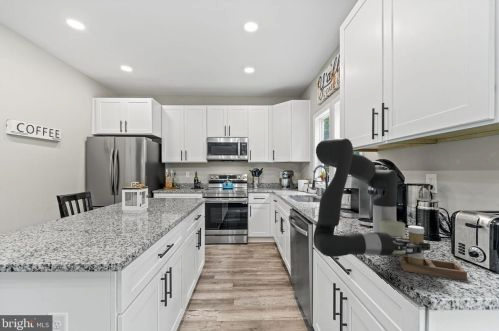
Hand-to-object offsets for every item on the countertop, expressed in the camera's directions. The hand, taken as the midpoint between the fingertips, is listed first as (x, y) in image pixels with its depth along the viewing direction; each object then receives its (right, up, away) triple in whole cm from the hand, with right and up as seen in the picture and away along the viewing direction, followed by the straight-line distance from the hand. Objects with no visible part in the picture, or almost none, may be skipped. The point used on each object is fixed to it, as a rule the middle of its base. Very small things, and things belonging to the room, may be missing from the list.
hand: (423, 244), depth 83 cm
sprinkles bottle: (-3, -8, 0) cm, 8 cm away
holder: (+1, -8, -2) cm, 8 cm away
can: (0, -9, +18) cm, 20 cm away
